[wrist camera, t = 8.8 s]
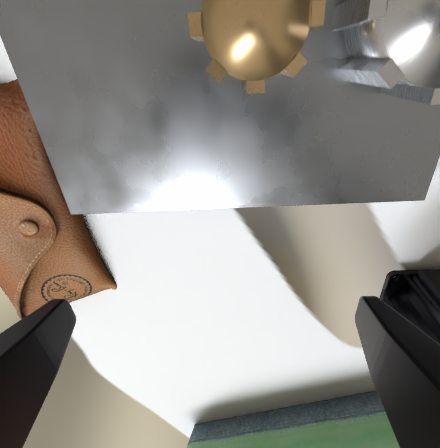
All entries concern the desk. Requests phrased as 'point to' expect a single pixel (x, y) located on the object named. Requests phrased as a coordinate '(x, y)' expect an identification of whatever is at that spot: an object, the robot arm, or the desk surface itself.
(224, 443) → the planter
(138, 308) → the desk surface
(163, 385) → the desk surface
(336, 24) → the carrier
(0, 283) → the sunglasses case
